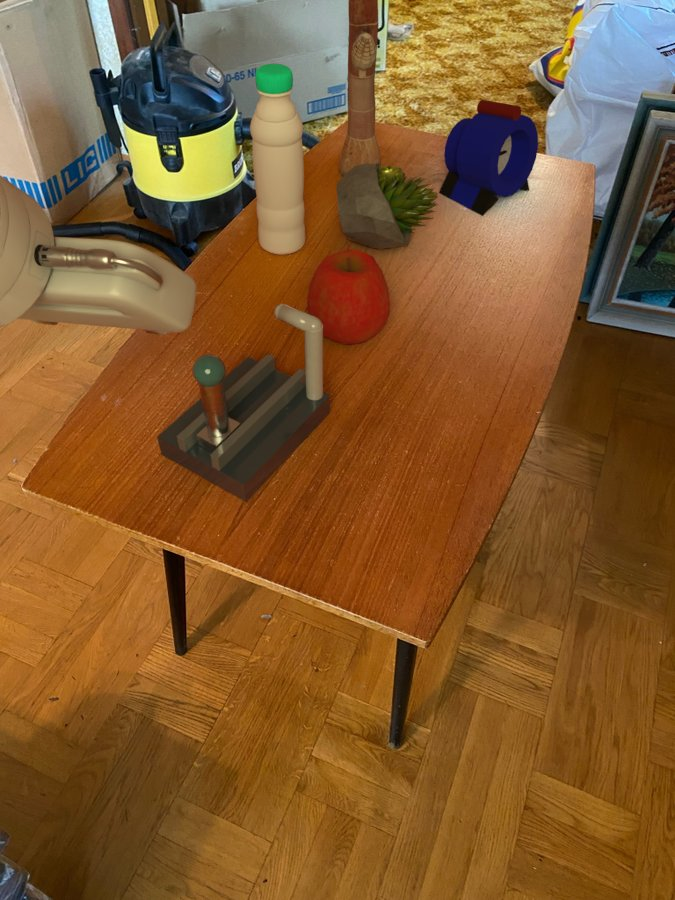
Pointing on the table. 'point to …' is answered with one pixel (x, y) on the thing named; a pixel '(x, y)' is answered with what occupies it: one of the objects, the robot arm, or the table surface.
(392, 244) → the potted plant
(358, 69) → the brown carved wooden post
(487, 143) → the alarm clock
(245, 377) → the tap base
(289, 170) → the water bottle
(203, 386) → the tap handle
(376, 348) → the table surface
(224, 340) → the table surface
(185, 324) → the robot arm
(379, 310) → the apple
